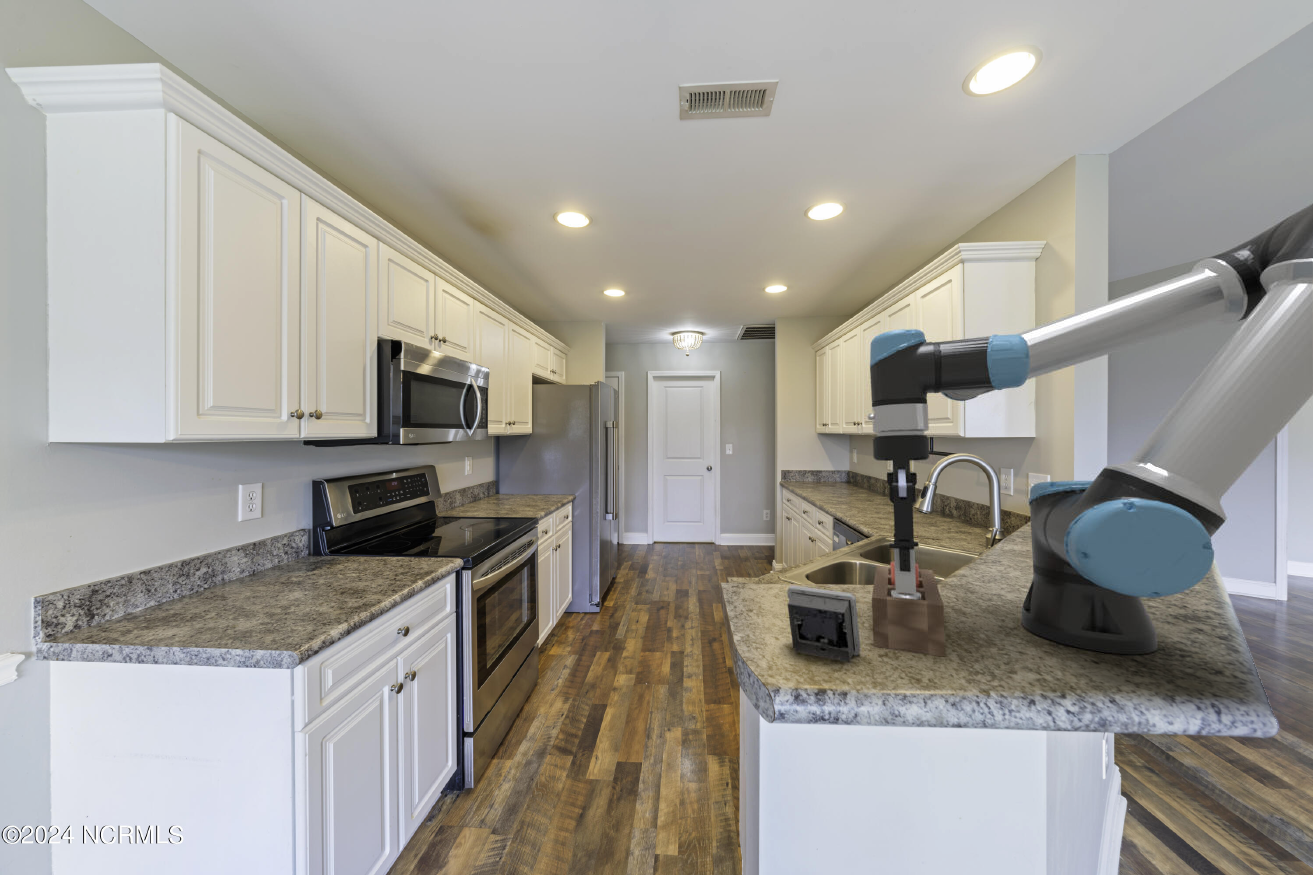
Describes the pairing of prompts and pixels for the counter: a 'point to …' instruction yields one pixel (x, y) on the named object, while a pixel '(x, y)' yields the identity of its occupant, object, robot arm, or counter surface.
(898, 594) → the metal plug
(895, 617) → the brown wooden box
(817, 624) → the electrical switch
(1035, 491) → the robot arm
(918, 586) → the red plug
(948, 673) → the counter surface
